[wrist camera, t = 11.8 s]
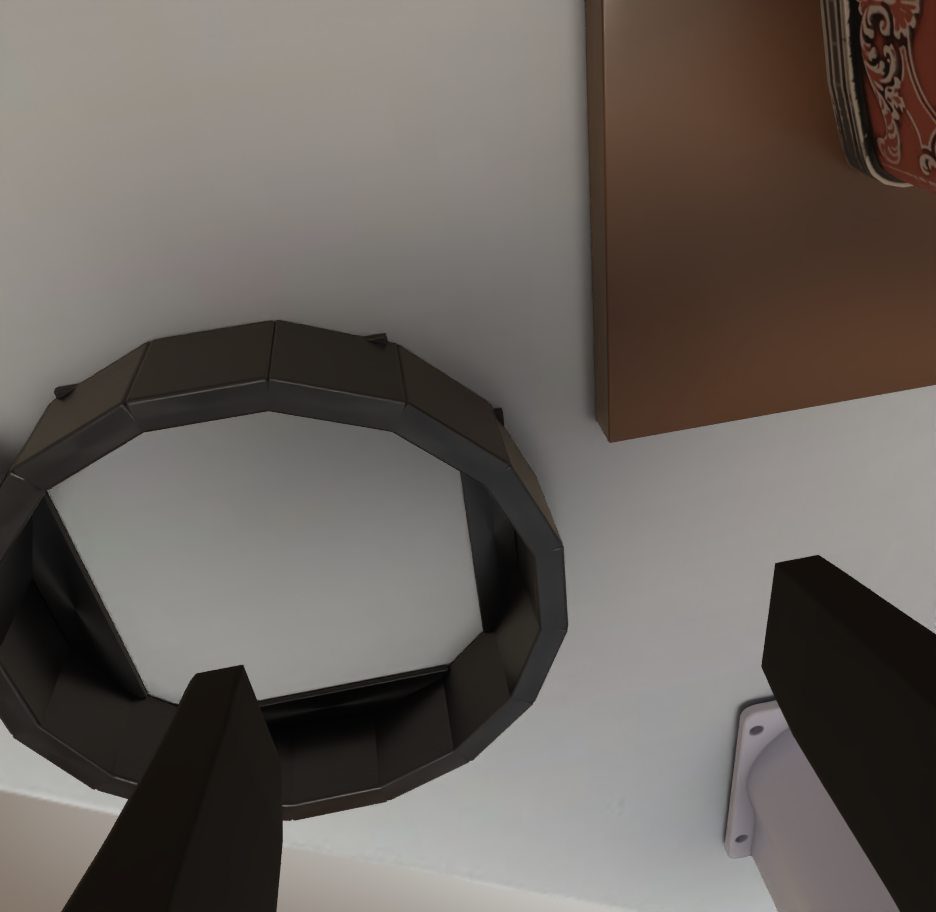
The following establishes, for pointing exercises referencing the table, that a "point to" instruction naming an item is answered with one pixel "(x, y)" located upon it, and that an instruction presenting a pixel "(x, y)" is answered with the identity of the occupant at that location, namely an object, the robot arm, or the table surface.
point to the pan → (308, 714)
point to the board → (740, 224)
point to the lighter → (884, 86)
